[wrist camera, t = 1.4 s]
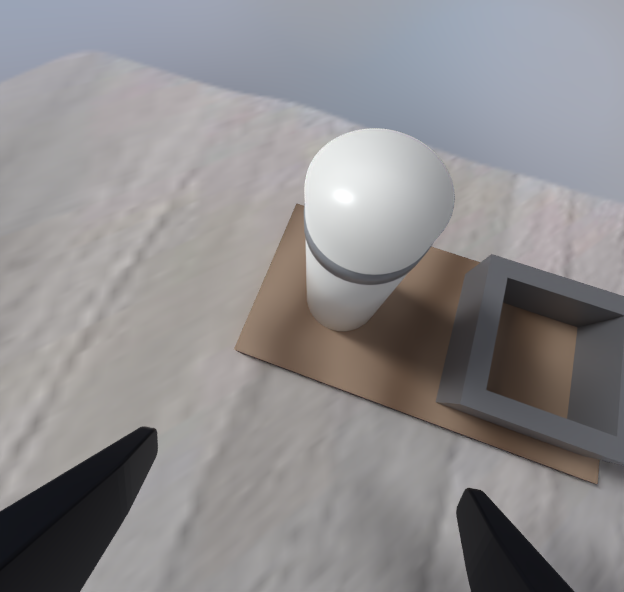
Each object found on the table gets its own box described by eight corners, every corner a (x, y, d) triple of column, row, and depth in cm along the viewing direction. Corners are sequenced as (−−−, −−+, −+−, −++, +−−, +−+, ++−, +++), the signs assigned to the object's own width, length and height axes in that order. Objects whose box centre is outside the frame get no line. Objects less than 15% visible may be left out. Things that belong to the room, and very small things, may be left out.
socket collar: (596, 317, 22) (647, 303, 19) (583, 456, 20) (639, 469, 16) (465, 274, 23) (491, 254, 20) (435, 402, 21) (460, 403, 17)
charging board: (602, 307, 23) (612, 304, 23) (586, 480, 20) (597, 484, 19) (296, 209, 25) (296, 203, 25) (236, 350, 22) (233, 349, 21)
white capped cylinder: (392, 304, 22) (488, 203, 10) (335, 346, 22) (369, 290, 10) (347, 250, 24) (387, 105, 12) (291, 289, 23) (273, 174, 11)
